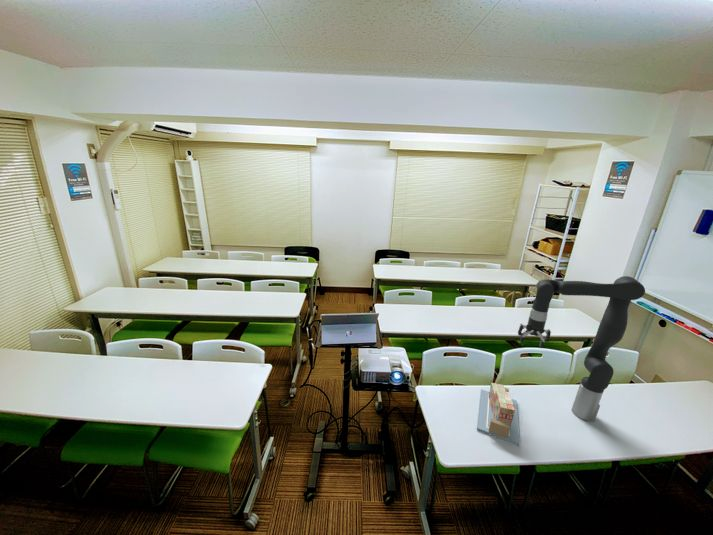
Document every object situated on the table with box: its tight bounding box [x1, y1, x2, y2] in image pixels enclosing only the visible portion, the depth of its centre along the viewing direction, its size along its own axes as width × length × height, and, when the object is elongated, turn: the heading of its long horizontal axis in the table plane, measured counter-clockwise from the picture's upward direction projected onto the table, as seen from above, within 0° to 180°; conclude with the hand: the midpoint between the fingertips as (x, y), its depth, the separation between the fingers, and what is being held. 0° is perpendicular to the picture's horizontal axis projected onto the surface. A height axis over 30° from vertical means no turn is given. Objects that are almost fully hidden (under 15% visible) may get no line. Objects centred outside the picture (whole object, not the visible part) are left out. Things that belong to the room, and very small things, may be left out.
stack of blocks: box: [489, 382, 515, 427], centre depth 145 cm, size 21×6×12 cm, turn 165°
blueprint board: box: [476, 386, 521, 447], centre depth 146 cm, size 18×30×7 cm, turn 154°
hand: (531, 344), depth 154 cm, fingers open, 8 cm apart
